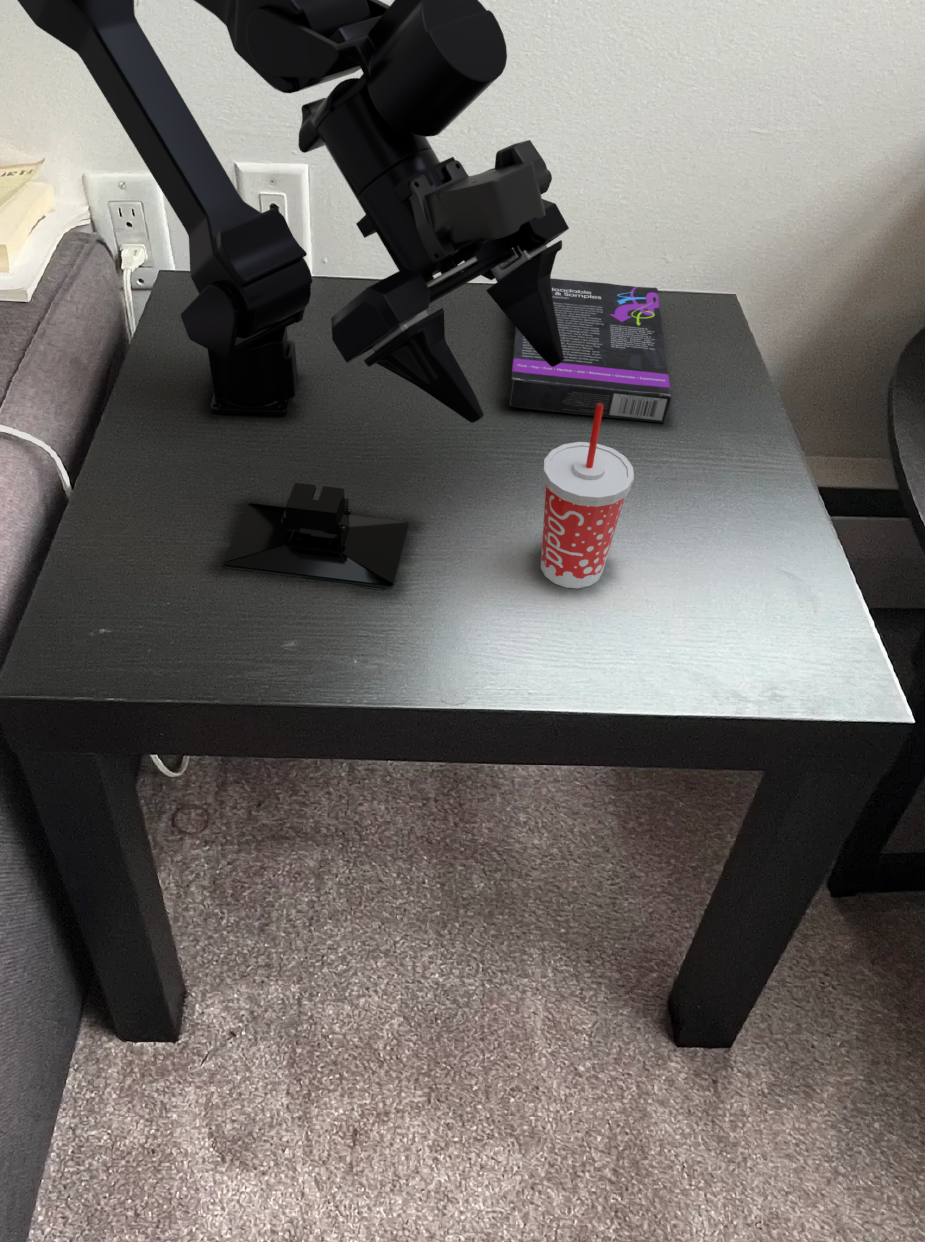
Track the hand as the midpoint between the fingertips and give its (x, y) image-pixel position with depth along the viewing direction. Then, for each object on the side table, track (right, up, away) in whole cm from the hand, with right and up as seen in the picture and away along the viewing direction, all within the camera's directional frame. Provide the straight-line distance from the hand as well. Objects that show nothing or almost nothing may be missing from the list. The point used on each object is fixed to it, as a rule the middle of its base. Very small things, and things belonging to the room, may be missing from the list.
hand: (519, 391), depth 66 cm
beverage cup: (+4, -12, +7) cm, 14 cm away
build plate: (-15, -10, +7) cm, 19 cm away
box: (+8, +9, +27) cm, 29 cm away
